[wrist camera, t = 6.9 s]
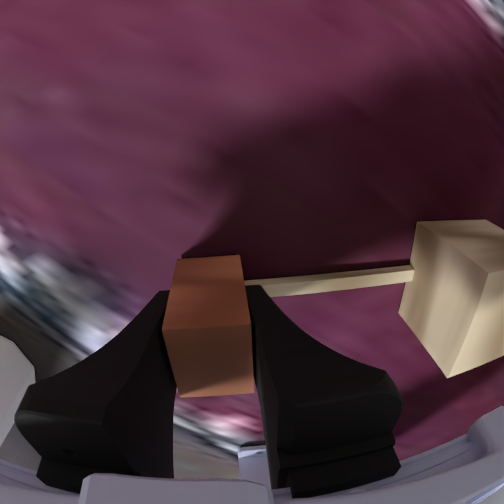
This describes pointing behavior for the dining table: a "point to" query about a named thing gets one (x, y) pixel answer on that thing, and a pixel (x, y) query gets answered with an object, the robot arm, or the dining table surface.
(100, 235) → the dining table surface
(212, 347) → the tethered block
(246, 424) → the dining table surface
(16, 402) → the pepper shaker
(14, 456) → the pillar candle
